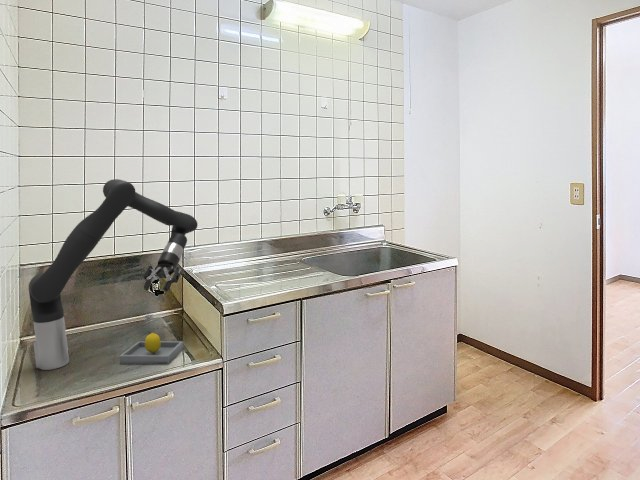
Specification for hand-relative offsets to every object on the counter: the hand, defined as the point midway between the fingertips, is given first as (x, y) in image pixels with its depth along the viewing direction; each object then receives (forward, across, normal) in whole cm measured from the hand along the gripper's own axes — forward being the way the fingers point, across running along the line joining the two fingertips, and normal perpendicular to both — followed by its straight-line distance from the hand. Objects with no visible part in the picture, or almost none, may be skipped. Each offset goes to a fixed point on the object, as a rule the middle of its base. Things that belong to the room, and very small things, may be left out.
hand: (155, 290), depth 164 cm
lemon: (+22, +4, +10) cm, 24 cm away
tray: (+22, +4, +10) cm, 25 cm away
